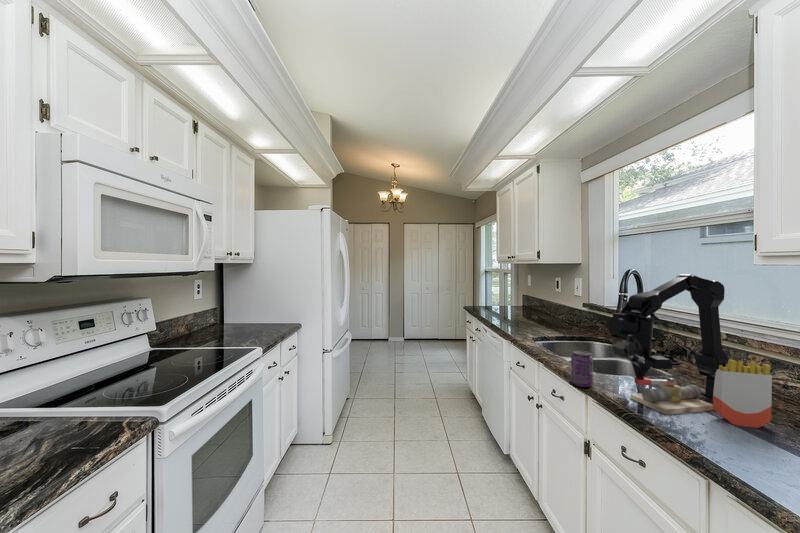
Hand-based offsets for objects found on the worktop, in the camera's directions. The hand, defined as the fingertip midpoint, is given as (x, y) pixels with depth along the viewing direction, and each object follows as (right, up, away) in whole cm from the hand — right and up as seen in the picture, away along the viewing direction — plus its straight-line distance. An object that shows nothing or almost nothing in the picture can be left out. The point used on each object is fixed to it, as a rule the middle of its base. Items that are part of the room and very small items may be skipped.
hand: (639, 380), depth 108 cm
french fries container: (+18, -7, -15) cm, 24 cm away
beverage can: (-11, -7, +14) cm, 19 cm away
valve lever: (+4, 0, -2) cm, 4 cm away
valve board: (+8, -7, -3) cm, 11 cm away
